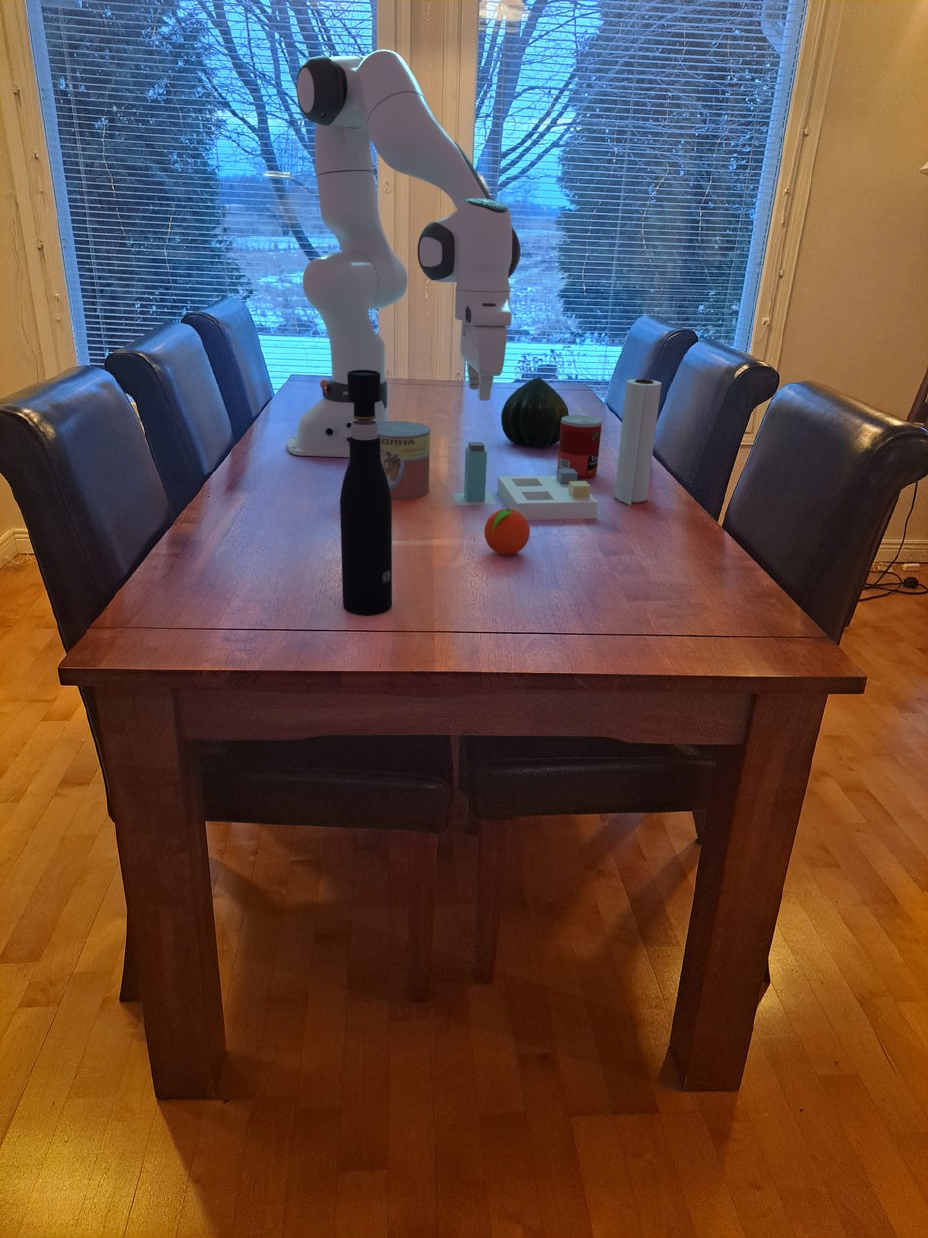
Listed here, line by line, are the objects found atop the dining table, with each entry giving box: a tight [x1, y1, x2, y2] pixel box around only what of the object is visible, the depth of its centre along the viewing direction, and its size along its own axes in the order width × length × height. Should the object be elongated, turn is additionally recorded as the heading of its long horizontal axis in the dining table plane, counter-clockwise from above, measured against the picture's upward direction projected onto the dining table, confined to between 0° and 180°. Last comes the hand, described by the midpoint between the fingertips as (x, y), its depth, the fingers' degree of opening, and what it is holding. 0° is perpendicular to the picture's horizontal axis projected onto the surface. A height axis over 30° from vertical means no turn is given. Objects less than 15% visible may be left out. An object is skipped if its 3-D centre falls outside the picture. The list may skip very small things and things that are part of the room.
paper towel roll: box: [614, 378, 662, 506], centre depth 158 cm, size 7×6×21 cm
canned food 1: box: [377, 420, 431, 501], centre depth 159 cm, size 11×11×12 cm
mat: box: [451, 492, 498, 507], centre depth 158 cm, size 7×7×1 cm
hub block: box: [496, 468, 599, 521], centre depth 155 cm, size 14×16×6 cm
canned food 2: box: [556, 414, 603, 480], centre depth 175 cm, size 8×8×11 cm
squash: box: [500, 376, 570, 449], centre depth 196 cm, size 14×15×15 cm
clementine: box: [483, 508, 531, 556], centre depth 133 cm, size 8×7×7 cm
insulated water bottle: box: [339, 370, 393, 616], centre depth 110 cm, size 6×6×30 cm
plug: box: [463, 441, 488, 502], centre depth 155 cm, size 3×3×10 cm
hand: (478, 394), depth 150 cm, fingers open, 8 cm apart
